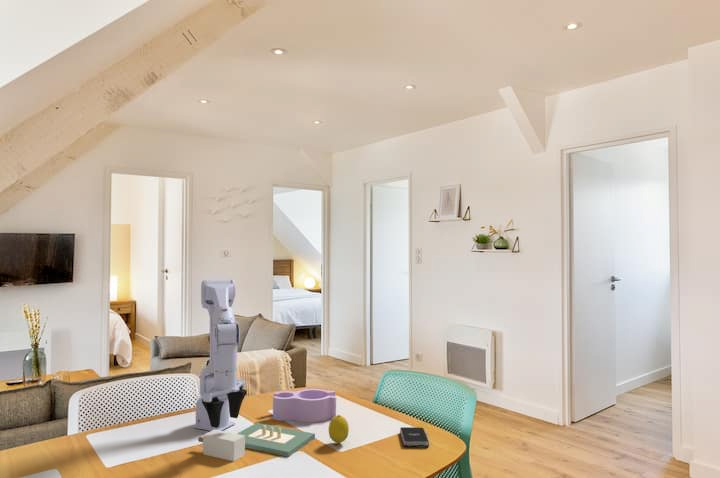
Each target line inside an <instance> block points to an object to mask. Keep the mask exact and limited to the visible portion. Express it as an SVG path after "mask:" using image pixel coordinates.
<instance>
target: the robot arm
mask: <svg viewBox="0 0 720 478" xmlns="http://www.w3.org/2000/svg"><path fill="white" fill-rule="evenodd" d="M200 284H201V285H200V299H201V300H200V302H201V304H200V305H201V307H202V308H203V309H205V310H207V312H208V315H209V364H207V365H206V366H205V367H204V368H202V369H201V372H200V377H199V395H200V396H199V397H198V399H197V401H196V404H195V425H193V428H194V429H200V430H205V431H209V432H210V431H212V430H214V429H215V430H220V431H225V430H226V429H227V428H229V427H231V426H234V425H236V422H235V421H230V418H233V419H238V418H239V415H240V411H241V410H240V409H241V407H242V404H243V401H244V399H245V398H246V395H247V392H248V390H247V389H244V388H246V380H244V379H237V378H238V377H237V374H238V346H239V344H240V338H241V337H240V336H241V333H240V325H239V322H238V321H236V318H235V313H234V310H233V309H232V308H231V307H233V305H234V301H235V297H236V281H235V280H234V279H212V280H211V279H202V281H201V283H200Z"/></svg>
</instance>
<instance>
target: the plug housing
mask: <svg viewBox="0 0 720 478" xmlns="http://www.w3.org/2000/svg"><path fill="white" fill-rule="evenodd" d="M202 435H203V436H199V437H198V439H197V441H198V443H199V442H200V443H202V454H203V455H205V456H209V457H214V458H218V459H223V460H226V461H230V462H235V461H237V460H239V459H241V457H243V456H245V455H246V454H245V453H246V448H245V435H240V434H237V433H236V432H229V431H226V430H222V431H220V430H215V429H214V430H212V431H209V432H206V433H204V434H202Z"/></svg>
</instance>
